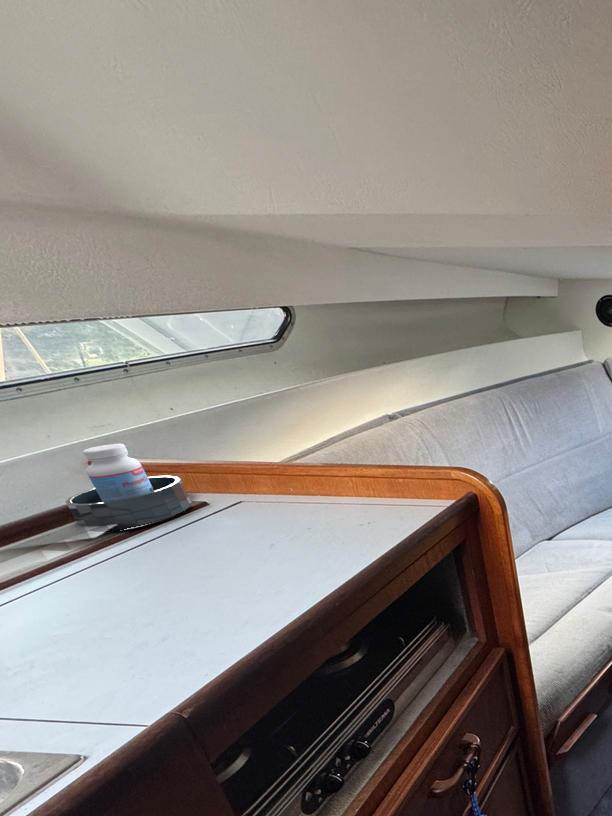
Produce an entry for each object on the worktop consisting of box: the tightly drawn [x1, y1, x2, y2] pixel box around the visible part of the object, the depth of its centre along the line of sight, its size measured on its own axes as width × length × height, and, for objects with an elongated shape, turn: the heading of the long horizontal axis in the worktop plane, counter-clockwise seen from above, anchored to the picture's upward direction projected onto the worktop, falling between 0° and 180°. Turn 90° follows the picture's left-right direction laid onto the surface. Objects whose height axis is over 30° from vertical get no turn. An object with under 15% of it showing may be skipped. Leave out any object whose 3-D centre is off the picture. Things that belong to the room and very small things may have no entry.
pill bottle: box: [82, 443, 154, 502], centre depth 88 cm, size 6×6×11 cm
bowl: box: [64, 475, 193, 534], centre depth 90 cm, size 13×13×5 cm
